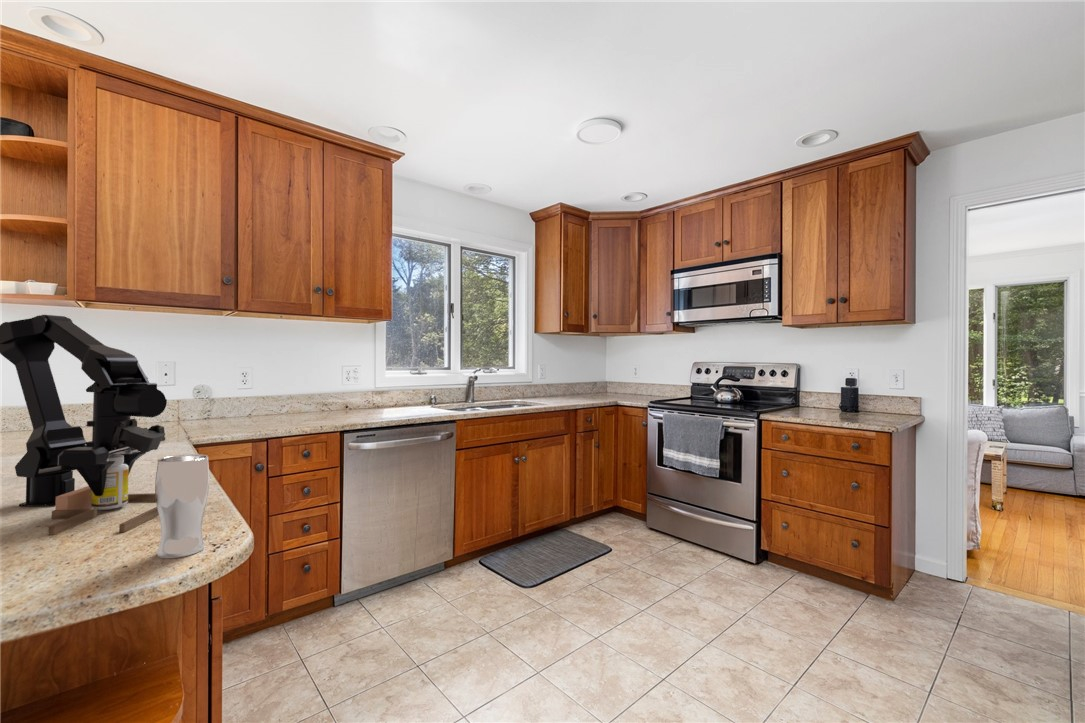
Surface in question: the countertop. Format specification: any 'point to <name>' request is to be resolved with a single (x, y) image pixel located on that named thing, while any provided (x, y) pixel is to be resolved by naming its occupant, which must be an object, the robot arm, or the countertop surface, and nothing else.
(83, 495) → the stop block
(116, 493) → the supplement bottle
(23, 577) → the countertop surface
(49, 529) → the walnut track
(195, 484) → the beer glass
